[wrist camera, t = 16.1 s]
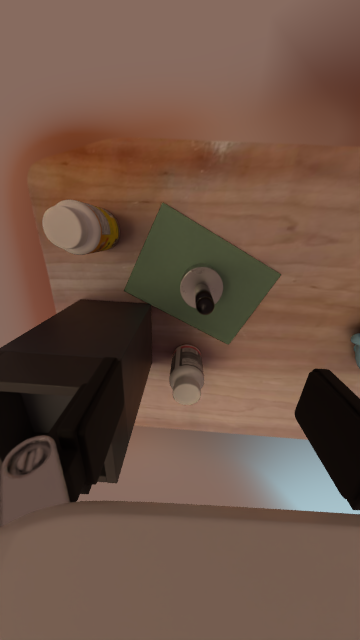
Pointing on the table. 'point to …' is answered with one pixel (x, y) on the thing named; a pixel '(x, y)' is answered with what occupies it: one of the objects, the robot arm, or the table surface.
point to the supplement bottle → (80, 227)
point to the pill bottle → (186, 374)
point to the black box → (74, 371)
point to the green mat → (189, 249)
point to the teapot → (356, 347)
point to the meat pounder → (201, 287)
